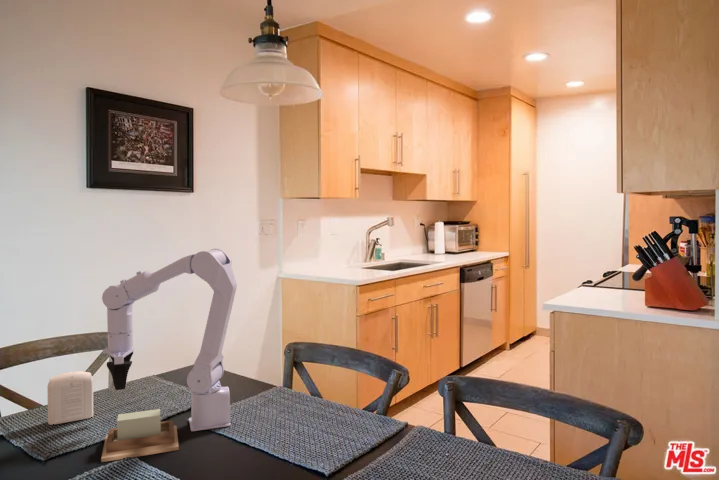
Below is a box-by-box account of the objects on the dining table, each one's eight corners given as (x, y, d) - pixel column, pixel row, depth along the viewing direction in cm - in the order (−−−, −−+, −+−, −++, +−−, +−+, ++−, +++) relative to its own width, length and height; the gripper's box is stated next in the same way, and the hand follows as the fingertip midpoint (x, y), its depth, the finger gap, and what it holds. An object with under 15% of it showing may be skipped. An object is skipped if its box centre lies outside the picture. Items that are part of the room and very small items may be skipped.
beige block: (118, 439, 118) (118, 414, 118) (160, 433, 121) (160, 408, 121) (117, 447, 114) (117, 421, 114) (160, 440, 118) (160, 415, 117)
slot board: (176, 428, 126) (176, 417, 126) (178, 449, 115) (178, 437, 115) (106, 438, 120) (105, 427, 120) (101, 462, 109) (100, 449, 109)
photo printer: (92, 412, 136) (91, 367, 135) (94, 418, 132) (93, 371, 132) (47, 421, 130) (46, 373, 129) (48, 427, 127) (46, 378, 126)
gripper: (104, 326, 135) (105, 377, 135) (99, 339, 121) (100, 395, 122) (134, 324, 137) (134, 374, 138) (132, 337, 124) (133, 392, 125)
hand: (121, 384), depth 130 cm, fingers open, 7 cm apart
